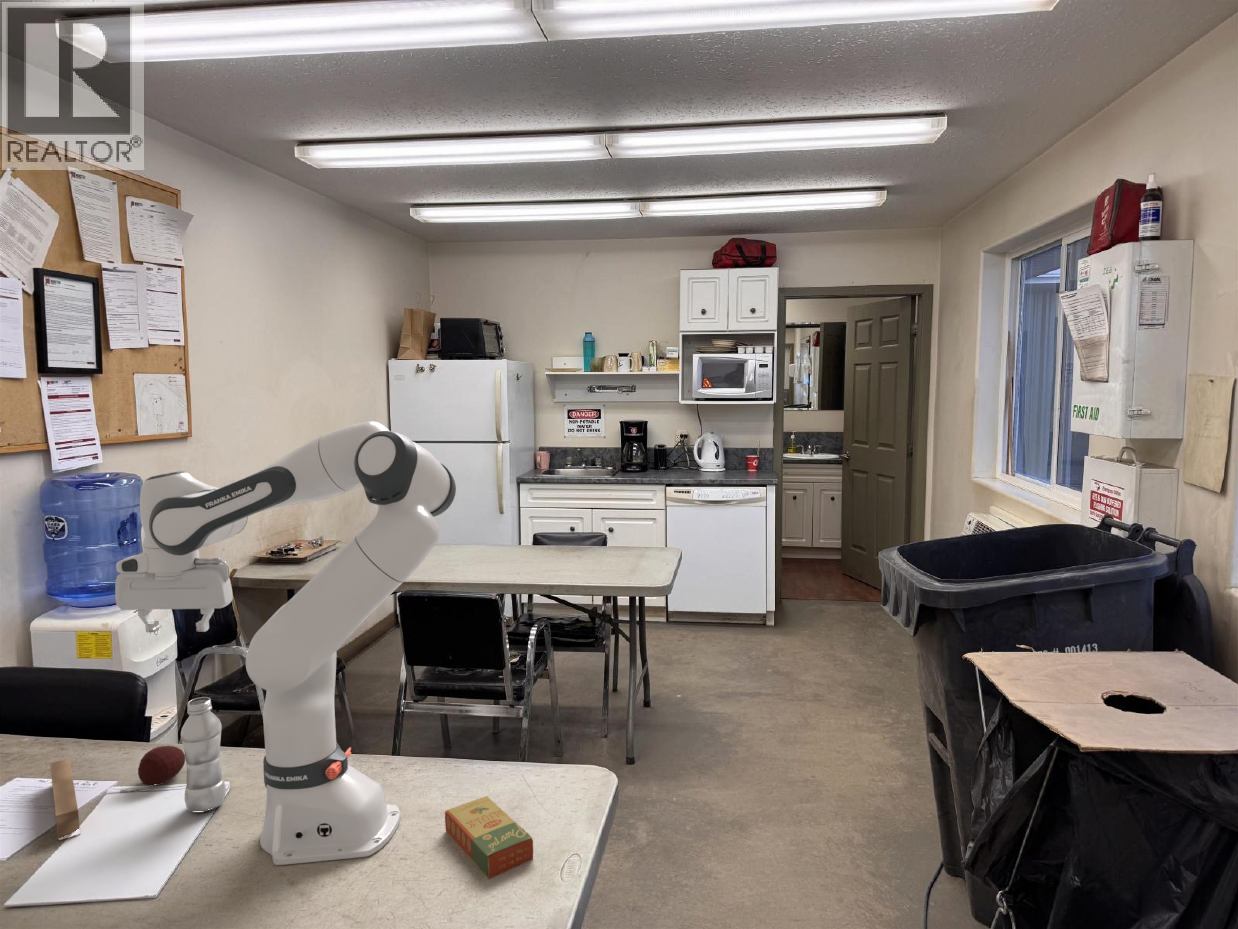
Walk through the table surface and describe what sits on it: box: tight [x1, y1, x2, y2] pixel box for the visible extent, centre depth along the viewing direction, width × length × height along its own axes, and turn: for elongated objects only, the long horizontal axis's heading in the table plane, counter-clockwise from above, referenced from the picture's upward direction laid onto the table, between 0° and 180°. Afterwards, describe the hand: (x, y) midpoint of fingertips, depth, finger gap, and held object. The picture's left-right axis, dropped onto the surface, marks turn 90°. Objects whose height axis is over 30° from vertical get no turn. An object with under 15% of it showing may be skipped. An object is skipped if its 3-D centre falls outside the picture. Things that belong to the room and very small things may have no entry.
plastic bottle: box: [180, 696, 227, 812], centre depth 136 cm, size 6×7×20 cm
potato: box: [137, 745, 186, 786], centre depth 147 cm, size 7×8×7 cm
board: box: [50, 758, 81, 839], centre depth 138 cm, size 3×24×4 cm, turn 39°
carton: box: [444, 796, 534, 880], centre depth 124 cm, size 8×16×4 cm, turn 37°
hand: (177, 631), depth 142 cm, fingers open, 8 cm apart
